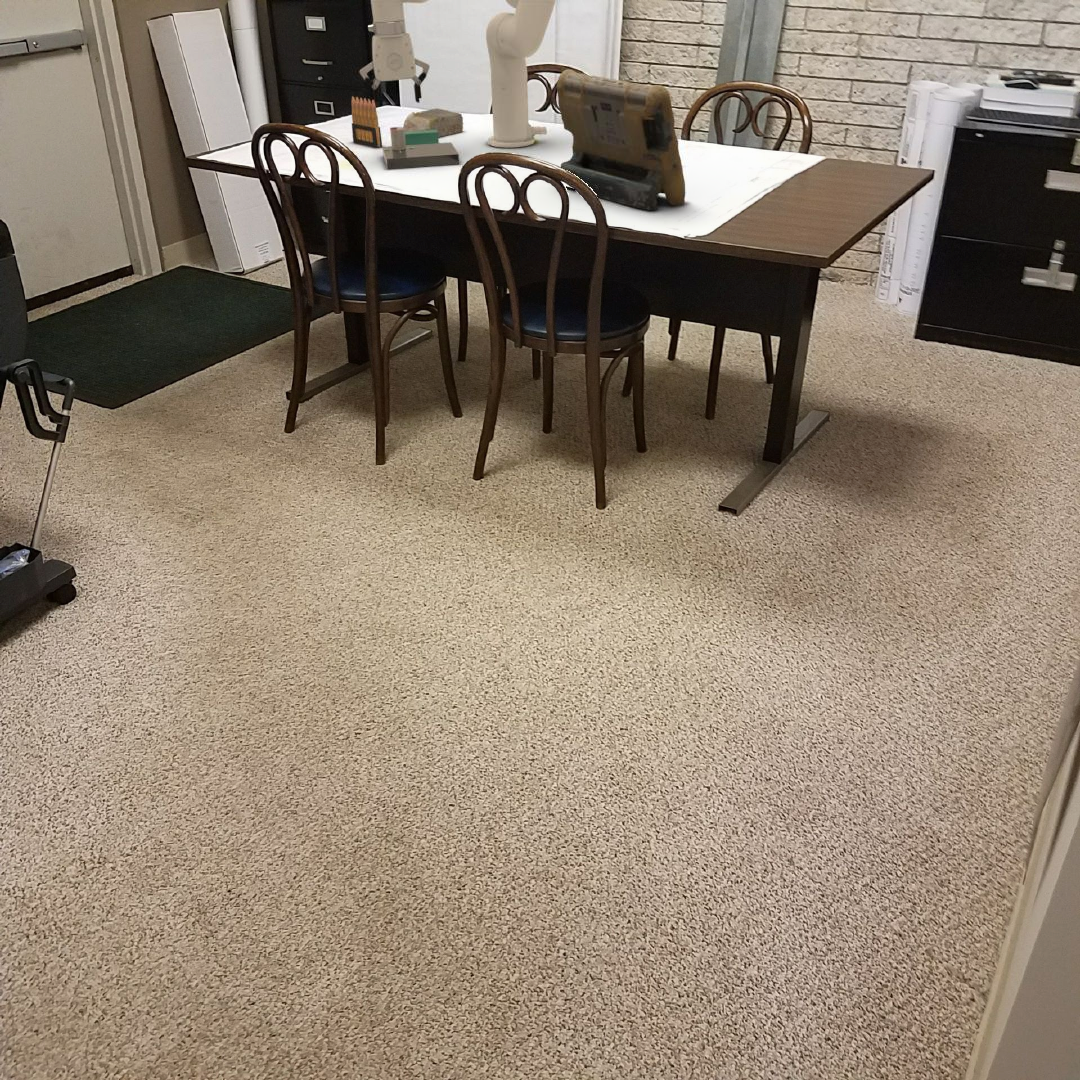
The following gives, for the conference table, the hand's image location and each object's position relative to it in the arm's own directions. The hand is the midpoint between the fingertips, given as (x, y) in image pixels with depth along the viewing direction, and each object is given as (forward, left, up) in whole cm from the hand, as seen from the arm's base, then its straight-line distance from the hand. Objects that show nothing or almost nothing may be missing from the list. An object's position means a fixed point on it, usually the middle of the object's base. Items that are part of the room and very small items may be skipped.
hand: (398, 103), depth 267 cm
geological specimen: (-11, -28, -14) cm, 33 cm away
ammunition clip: (+8, -19, -14) cm, 25 cm away
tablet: (-44, +51, -14) cm, 69 cm away
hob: (-4, +4, -13) cm, 14 cm away
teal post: (-4, -12, -13) cm, 19 cm away
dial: (+1, +1, -11) cm, 11 cm away
